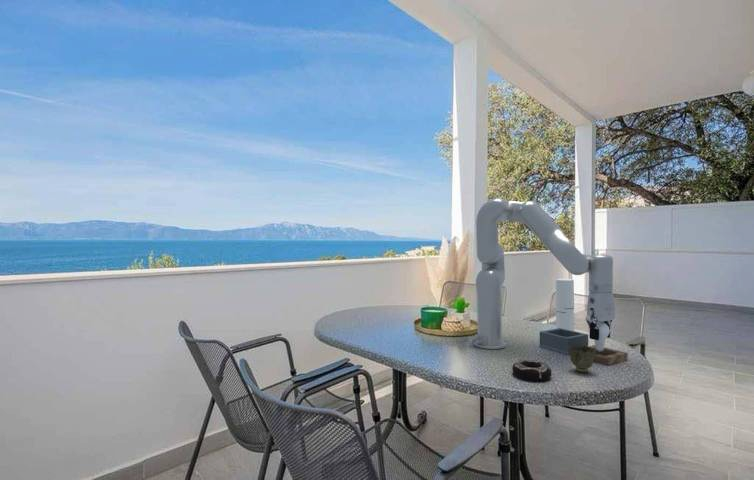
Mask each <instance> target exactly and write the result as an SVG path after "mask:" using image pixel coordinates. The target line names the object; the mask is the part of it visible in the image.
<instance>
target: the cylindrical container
mask: <svg viewBox="0 0 754 480" xmlns="http://www.w3.org/2000/svg"><path fill="white" fill-rule="evenodd" d="M574 280H575V279H573V278H556V279H555V329H556V328H562V329H567V330H571V331H575V306H574V304H575V297H574V296H575V295H574V294H575V282H574Z"/></svg>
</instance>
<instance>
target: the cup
mask: <svg viewBox="0 0 754 480" xmlns="http://www.w3.org/2000/svg"><path fill="white" fill-rule="evenodd" d="M569 348H570V354H569V357H570V360H571V364H572V365H573V366H574V367H575V370H576V372H578V373H579V374H580V373H581V374H586V373H588V372H589V369H590V368H591V367H592V366H593V364H594V362H593V360H594V353H595V349H593V350H591V347H589V346H588V347H587V346H586V345H584V346H583V347H581V345H579V348H578V346H577V345H575V346H574V345H573V347H571V346H569Z"/></svg>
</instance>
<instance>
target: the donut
mask: <svg viewBox="0 0 754 480" xmlns="http://www.w3.org/2000/svg"><path fill="white" fill-rule="evenodd" d="M511 370H512V372H513V374H514V375H515V377H518V378H520V379H522V380H525V381H528V382H544V381H546V380H547V381H548V380H549V379H550V378H551V376H552V369H551V367H550V366H549V365H548V364H546V363H544V362H542V361H539V360H536V359H535V360H534V359H533V360H532V359H520V360H518V361H515V362H514V363H513V364H512V367H511Z"/></svg>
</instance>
